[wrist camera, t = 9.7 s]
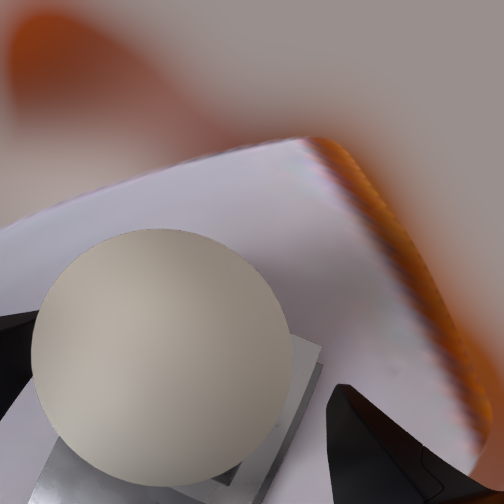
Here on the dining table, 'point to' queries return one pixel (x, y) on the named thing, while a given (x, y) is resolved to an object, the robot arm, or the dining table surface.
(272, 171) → the dining table surface
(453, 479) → the robot arm
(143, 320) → the peg
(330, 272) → the dining table surface
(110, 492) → the socket
